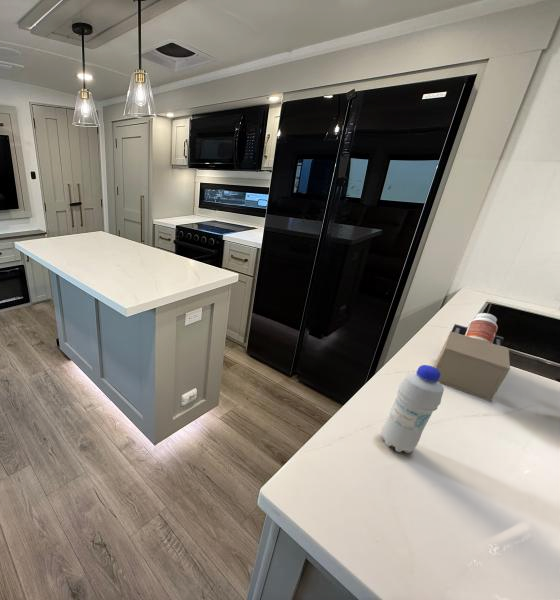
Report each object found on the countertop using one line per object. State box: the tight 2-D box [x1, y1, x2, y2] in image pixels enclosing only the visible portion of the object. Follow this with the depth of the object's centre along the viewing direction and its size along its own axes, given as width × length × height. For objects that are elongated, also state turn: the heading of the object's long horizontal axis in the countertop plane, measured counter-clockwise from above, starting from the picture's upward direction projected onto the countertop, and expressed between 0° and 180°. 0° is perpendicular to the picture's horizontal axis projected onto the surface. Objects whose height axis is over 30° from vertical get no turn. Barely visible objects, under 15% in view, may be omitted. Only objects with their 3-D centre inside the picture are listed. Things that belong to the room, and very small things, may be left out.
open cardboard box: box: [433, 330, 511, 402], centre depth 88 cm, size 15×13×11 cm
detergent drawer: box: [451, 323, 505, 346], centre depth 97 cm, size 18×11×9 cm, turn 134°
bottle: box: [380, 364, 445, 454], centre depth 63 cm, size 7×7×20 cm
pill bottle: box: [465, 312, 499, 343], centre depth 95 cm, size 6×6×11 cm
